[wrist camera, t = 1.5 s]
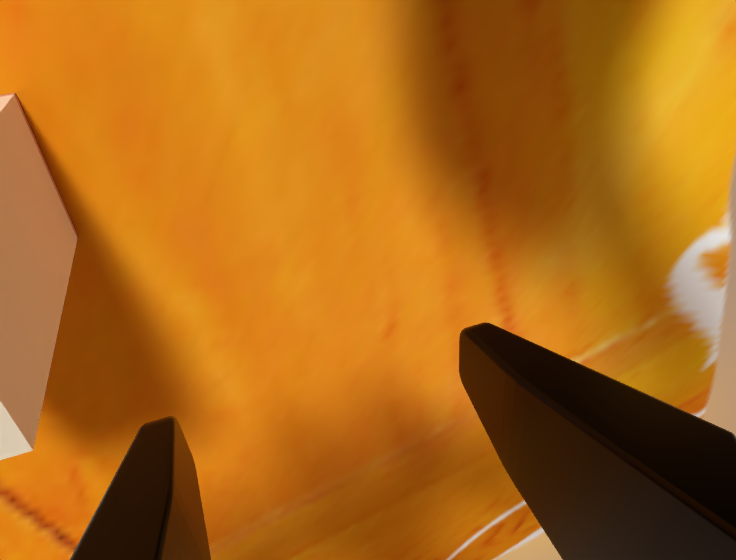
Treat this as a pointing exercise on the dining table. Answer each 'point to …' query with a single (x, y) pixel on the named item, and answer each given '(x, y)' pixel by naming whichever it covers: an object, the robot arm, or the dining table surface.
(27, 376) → the cream block
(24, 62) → the dining table surface
